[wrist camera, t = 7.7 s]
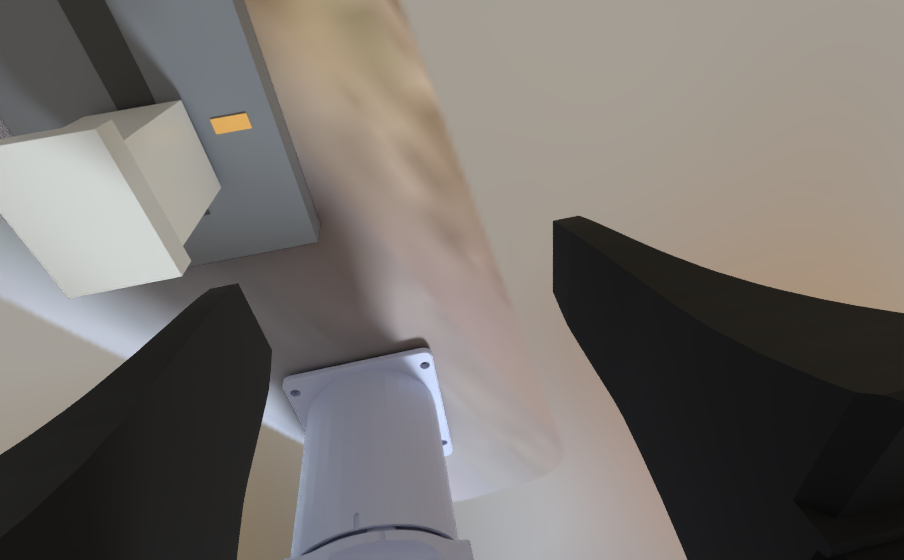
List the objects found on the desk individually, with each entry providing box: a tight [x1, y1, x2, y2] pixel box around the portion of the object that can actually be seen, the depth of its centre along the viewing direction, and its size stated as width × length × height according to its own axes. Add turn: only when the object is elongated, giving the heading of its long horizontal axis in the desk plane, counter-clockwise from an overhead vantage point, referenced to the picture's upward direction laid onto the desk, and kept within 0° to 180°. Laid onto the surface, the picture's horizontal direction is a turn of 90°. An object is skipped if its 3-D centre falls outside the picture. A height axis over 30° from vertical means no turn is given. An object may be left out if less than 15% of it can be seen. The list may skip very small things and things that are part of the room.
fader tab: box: [0, 100, 221, 299], centre depth 13 cm, size 4×3×5 cm
